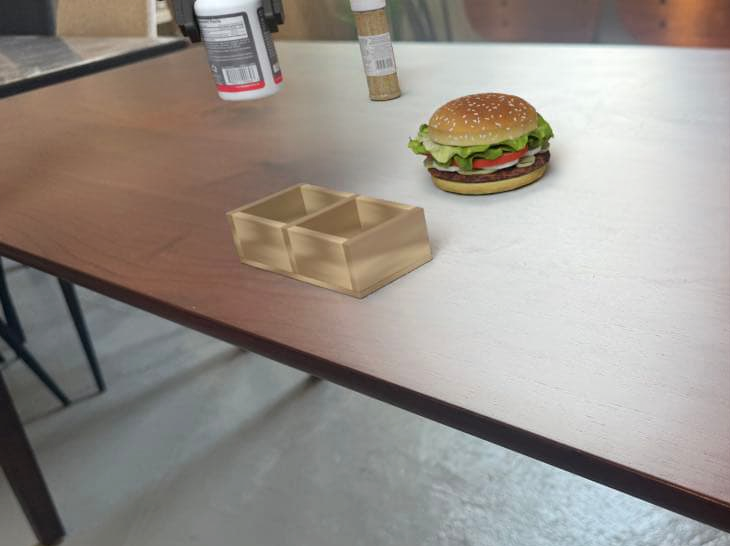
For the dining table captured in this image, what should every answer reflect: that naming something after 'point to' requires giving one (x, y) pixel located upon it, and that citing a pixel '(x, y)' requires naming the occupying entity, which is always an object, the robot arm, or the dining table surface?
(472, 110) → the food
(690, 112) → the dining table surface
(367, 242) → the divided wooden box
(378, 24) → the brown spice jar
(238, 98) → the pill bottle
